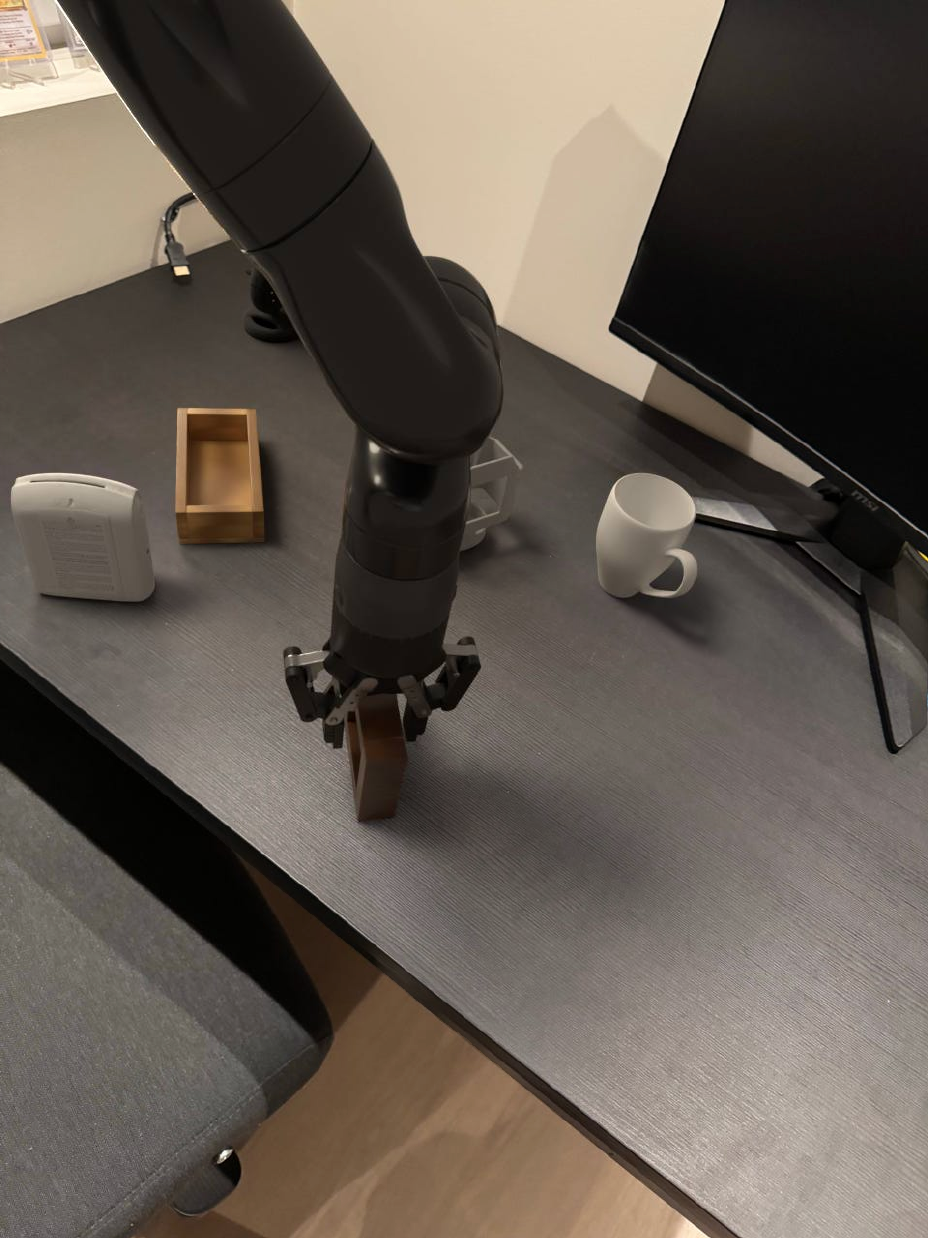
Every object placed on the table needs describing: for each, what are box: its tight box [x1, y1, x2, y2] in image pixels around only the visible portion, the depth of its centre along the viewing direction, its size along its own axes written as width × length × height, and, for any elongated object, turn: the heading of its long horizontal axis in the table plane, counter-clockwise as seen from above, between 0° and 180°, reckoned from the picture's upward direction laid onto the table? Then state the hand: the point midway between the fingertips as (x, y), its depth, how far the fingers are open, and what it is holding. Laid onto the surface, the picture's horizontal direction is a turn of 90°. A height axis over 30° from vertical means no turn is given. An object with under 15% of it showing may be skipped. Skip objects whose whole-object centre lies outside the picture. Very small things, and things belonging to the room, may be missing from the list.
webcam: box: [242, 265, 298, 342], centre depth 104 cm, size 8×8×10 cm
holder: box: [174, 407, 265, 545], centre depth 86 cm, size 8×16×4 cm, turn 11°
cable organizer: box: [460, 436, 524, 552], centre depth 83 cm, size 7×12×12 cm, turn 123°
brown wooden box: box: [344, 694, 409, 823], centre depth 65 cm, size 3×10×9 cm, turn 11°
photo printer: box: [10, 472, 156, 603], centre depth 72 cm, size 10×4×12 cm, turn 92°
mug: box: [595, 472, 698, 599], centre depth 82 cm, size 12×8×11 cm
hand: (372, 735), depth 66 cm, fingers open, 5 cm apart
